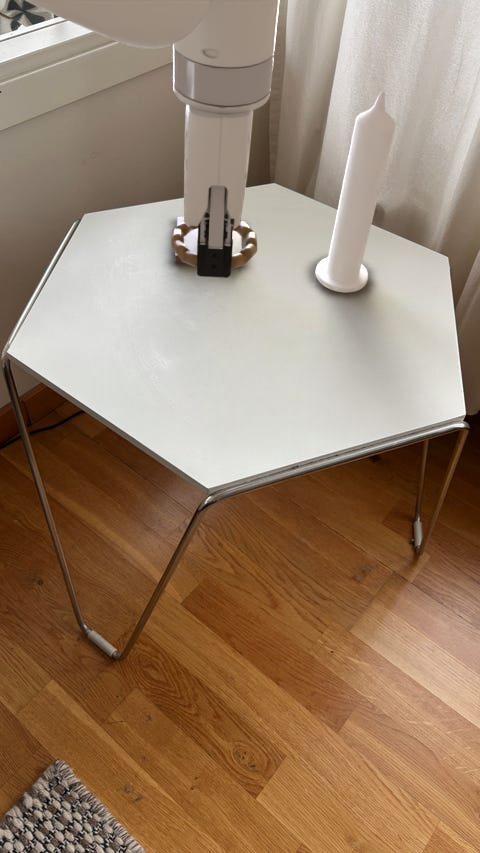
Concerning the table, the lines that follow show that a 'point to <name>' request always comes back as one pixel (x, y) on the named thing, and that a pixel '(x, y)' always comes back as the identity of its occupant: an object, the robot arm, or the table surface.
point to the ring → (237, 259)
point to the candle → (358, 200)
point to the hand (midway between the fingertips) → (213, 266)
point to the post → (192, 238)
